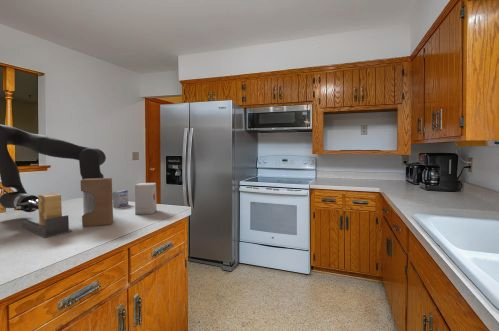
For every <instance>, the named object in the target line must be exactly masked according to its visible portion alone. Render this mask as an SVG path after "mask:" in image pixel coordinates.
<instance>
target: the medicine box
mask: <svg viewBox="0 0 499 331" xmlns="http://www.w3.org/2000/svg"><path fill="white" fill-rule="evenodd" d="M112 199H113V208H121V207H120V206H122V207H124V206H123V205H125V204H128V205H129V191H128V190H127V189H122V190H121V189H120V190H117V191H112ZM125 206H126V205H125Z"/></svg>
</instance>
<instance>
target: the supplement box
mask: <svg viewBox="0 0 499 331" xmlns="http://www.w3.org/2000/svg"><path fill="white" fill-rule="evenodd" d="M134 204H135V205H134V209H135V210H134V214H135V215H149V214H151V215H153V214H154V213H155V212H156V211H157V183H156V182H140V183H136V184H135V185H134Z"/></svg>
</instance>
